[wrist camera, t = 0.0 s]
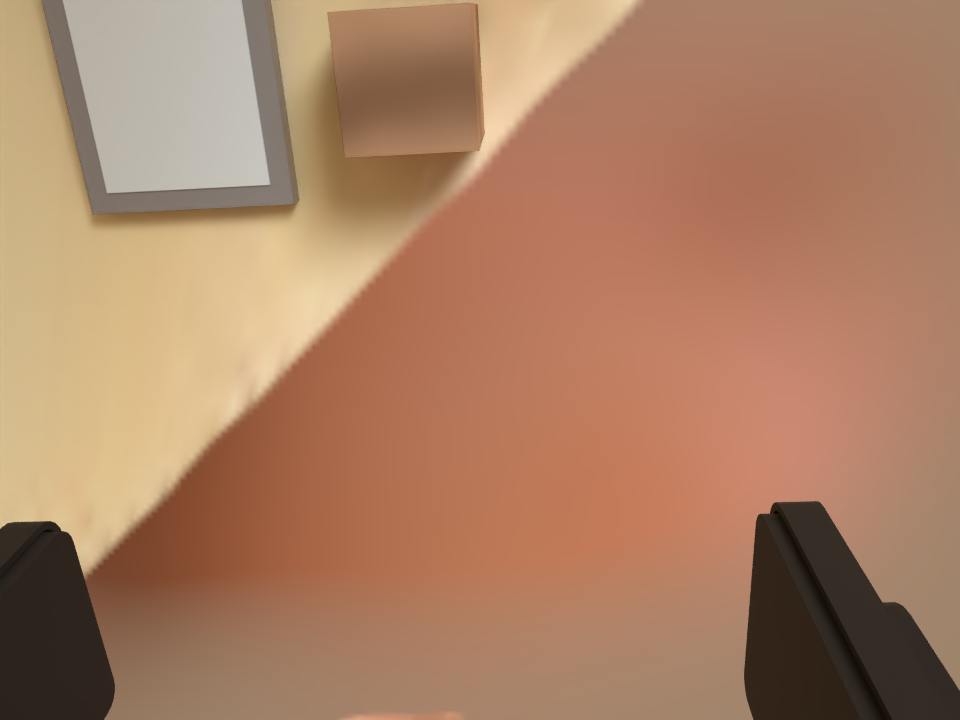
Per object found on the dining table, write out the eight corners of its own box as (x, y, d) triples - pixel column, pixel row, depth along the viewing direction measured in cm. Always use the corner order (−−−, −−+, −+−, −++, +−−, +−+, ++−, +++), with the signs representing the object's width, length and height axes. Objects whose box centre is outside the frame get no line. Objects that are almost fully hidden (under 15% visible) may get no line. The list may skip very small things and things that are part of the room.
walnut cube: (354, 12, 38) (327, 12, 32) (477, 4, 37) (470, 3, 32) (367, 139, 40) (344, 157, 35) (484, 132, 39) (479, 150, 34)
